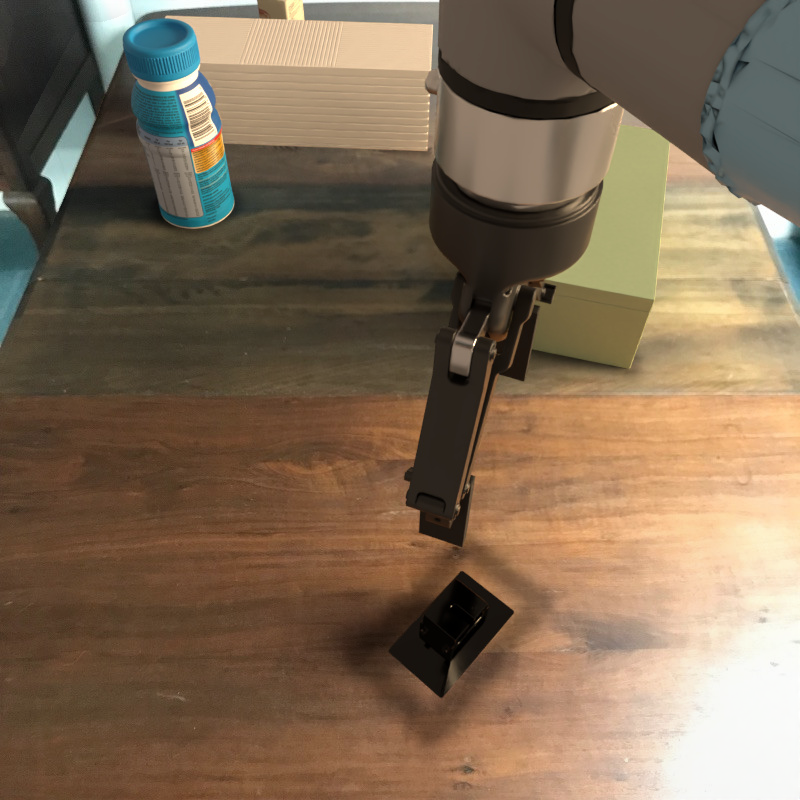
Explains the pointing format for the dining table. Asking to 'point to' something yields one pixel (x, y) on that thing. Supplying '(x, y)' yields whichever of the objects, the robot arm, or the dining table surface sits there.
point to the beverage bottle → (178, 123)
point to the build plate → (451, 633)
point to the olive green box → (613, 261)
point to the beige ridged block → (317, 81)
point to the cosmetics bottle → (281, 9)
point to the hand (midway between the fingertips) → (476, 447)
